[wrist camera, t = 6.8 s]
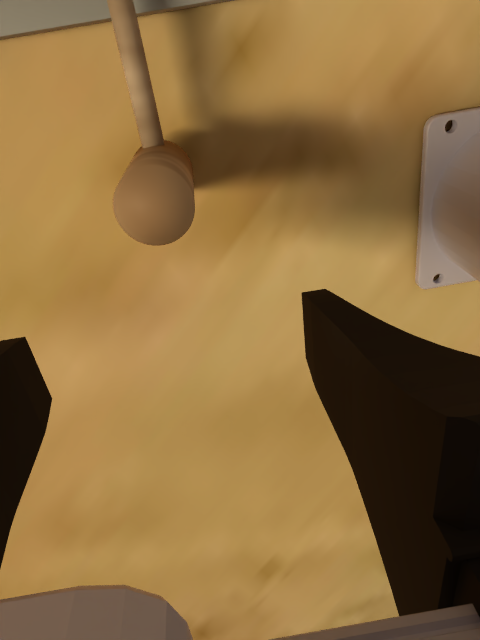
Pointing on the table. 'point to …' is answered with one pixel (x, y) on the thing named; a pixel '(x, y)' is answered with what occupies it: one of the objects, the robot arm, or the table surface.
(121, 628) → the robot arm
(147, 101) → the block
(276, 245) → the table surface
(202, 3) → the lane shelf
